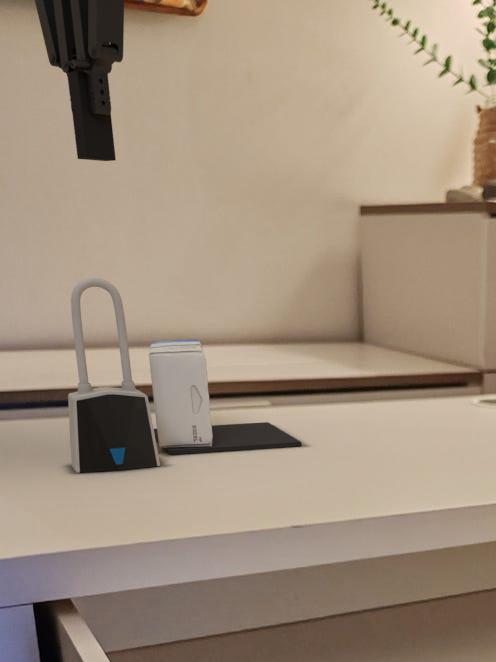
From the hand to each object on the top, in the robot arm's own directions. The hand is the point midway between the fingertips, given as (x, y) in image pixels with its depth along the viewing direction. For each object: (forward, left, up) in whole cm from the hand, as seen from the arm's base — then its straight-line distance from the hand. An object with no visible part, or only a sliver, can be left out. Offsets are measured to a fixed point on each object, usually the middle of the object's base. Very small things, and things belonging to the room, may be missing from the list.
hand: (96, 159), depth 88 cm
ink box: (-5, +6, -20) cm, 21 cm away
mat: (+1, +9, -24) cm, 26 cm away
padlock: (+11, -2, -25) cm, 27 cm away
